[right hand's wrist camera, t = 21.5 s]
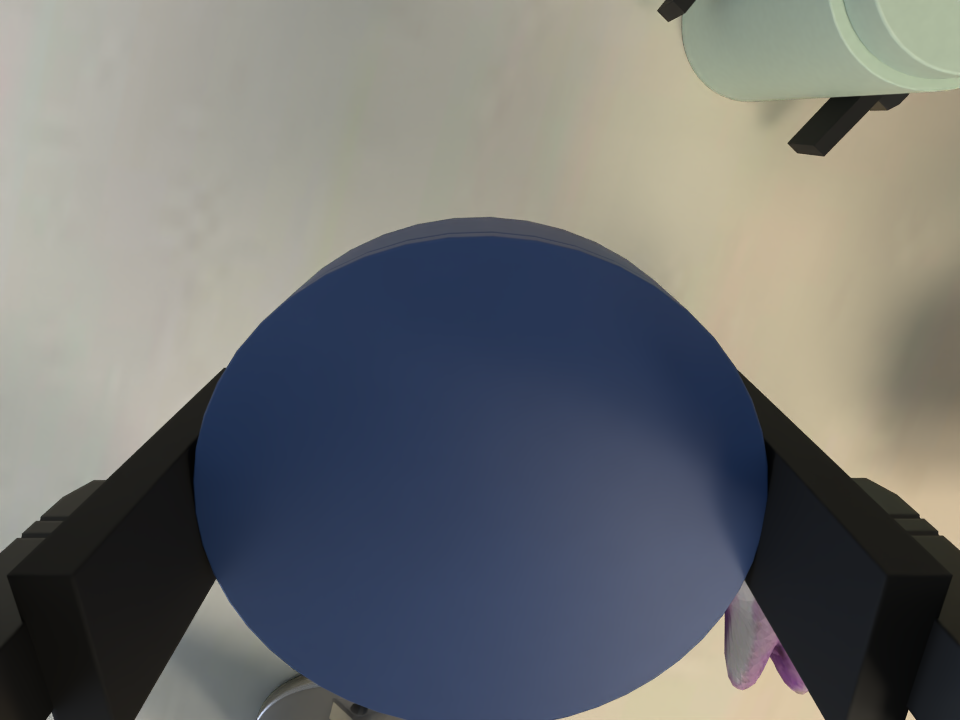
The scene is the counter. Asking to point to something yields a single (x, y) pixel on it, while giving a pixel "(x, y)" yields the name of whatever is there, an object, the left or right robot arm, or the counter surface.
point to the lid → (480, 475)
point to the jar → (823, 47)
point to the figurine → (754, 645)
